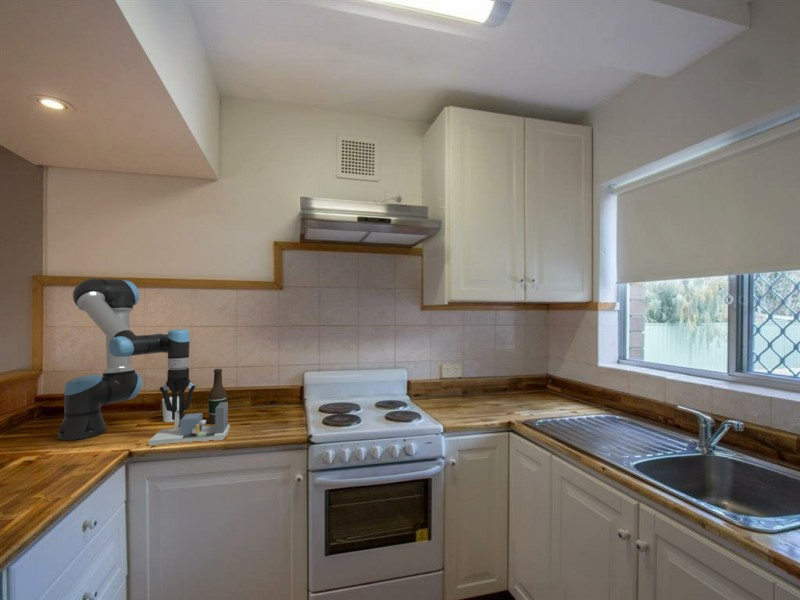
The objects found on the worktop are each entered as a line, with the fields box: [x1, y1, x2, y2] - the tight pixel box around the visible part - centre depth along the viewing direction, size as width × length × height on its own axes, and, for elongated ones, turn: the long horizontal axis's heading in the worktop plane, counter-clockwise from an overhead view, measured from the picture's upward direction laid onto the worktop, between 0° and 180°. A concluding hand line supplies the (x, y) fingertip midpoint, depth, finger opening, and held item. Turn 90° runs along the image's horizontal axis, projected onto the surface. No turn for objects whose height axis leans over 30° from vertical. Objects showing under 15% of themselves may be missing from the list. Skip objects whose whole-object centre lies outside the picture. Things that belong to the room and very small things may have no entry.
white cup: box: [161, 396, 179, 423], centre depth 177 cm, size 8×8×10 cm
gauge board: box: [148, 401, 231, 446], centre depth 154 cm, size 26×14×12 cm, turn 105°
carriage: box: [180, 412, 207, 435], centre depth 153 cm, size 8×11×6 cm
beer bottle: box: [208, 368, 227, 425], centre depth 174 cm, size 8×8×24 cm
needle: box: [196, 424, 199, 435], centre depth 149 cm, size 1×2×4 cm, turn 15°
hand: (177, 427), depth 152 cm, fingers closed
